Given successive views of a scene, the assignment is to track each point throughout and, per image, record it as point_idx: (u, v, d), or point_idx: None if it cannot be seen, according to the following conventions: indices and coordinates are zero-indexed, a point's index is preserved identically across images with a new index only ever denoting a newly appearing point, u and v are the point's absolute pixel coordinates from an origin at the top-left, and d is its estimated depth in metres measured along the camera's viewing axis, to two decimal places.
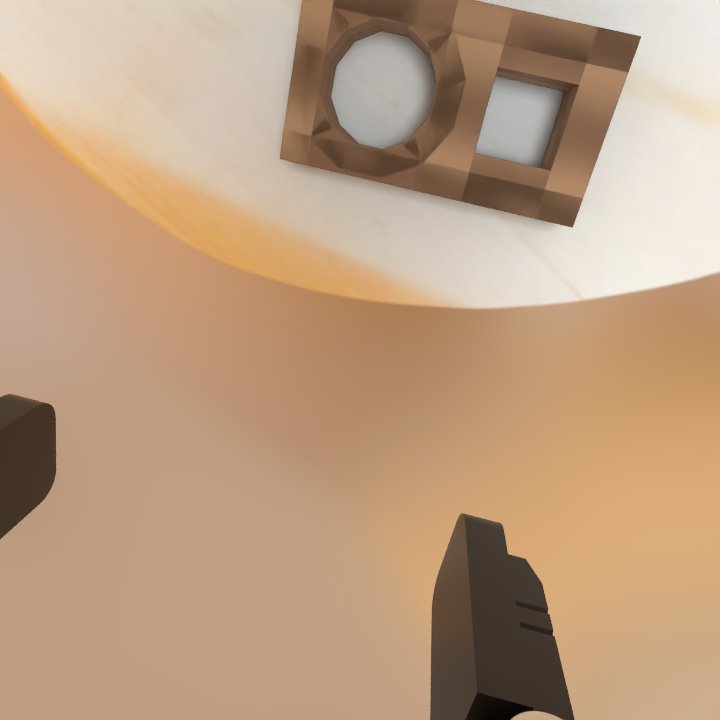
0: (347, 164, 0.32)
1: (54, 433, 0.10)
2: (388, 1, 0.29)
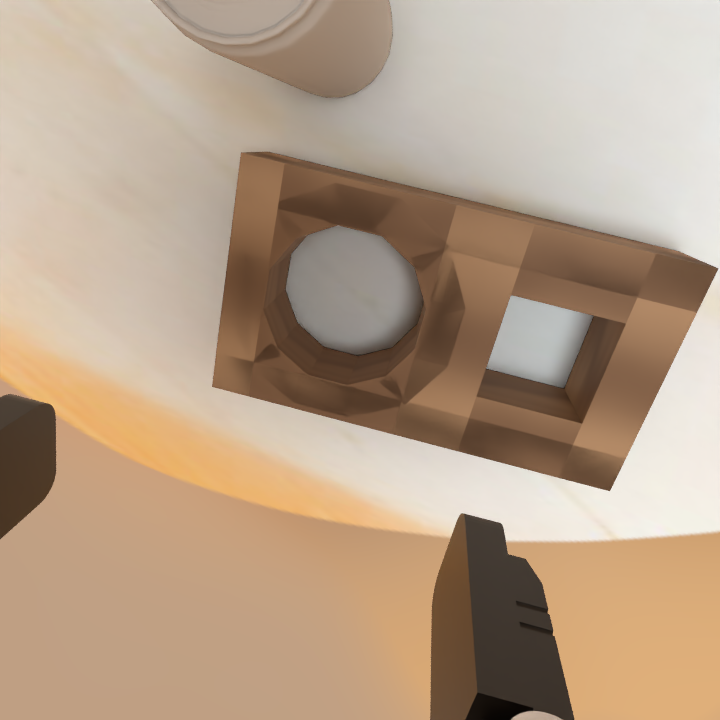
0: (303, 398, 0.24)
1: (54, 433, 0.10)
2: (355, 205, 0.20)
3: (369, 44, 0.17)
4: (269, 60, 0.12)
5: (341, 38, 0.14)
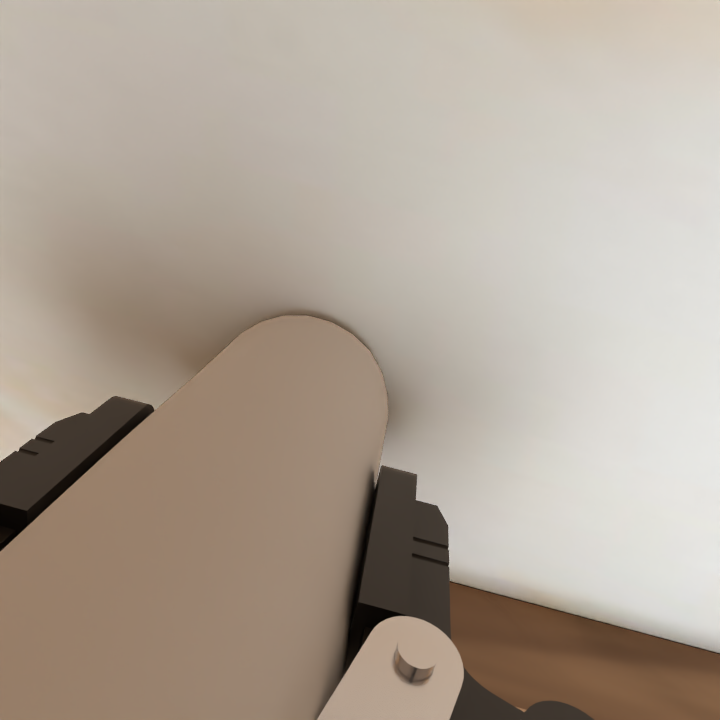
0: None
1: None
2: None
3: None
4: None
5: None
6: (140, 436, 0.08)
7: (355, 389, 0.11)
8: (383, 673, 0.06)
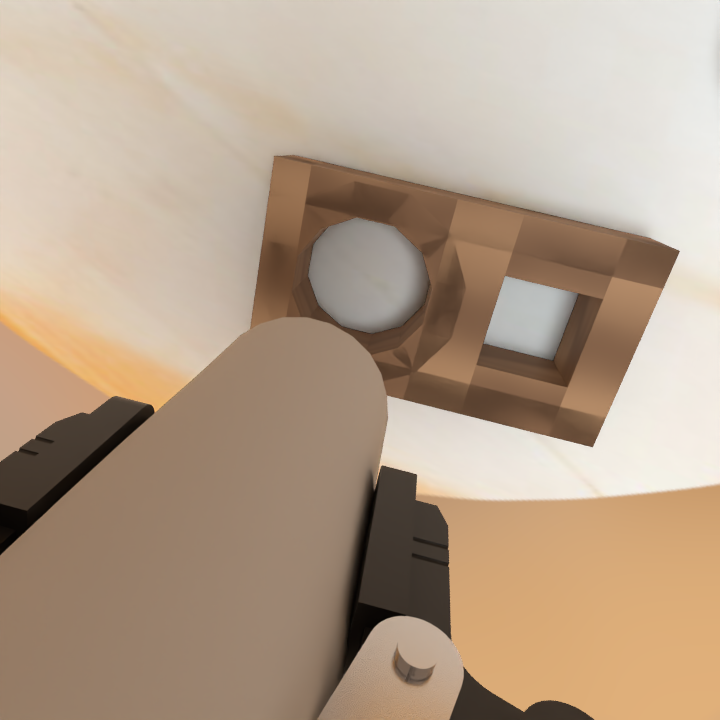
0: None
1: None
2: (372, 200, 0.24)
3: None
4: None
5: None
6: (141, 439, 0.08)
7: (354, 391, 0.11)
8: (383, 673, 0.06)
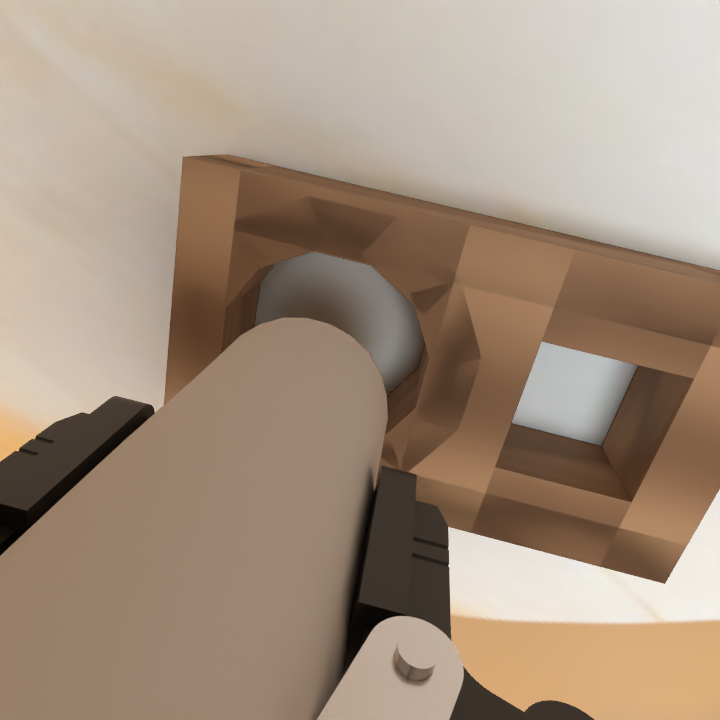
0: None
1: None
2: (336, 225, 0.15)
3: None
4: None
5: None
6: (140, 439, 0.08)
7: (354, 392, 0.11)
8: (383, 673, 0.06)
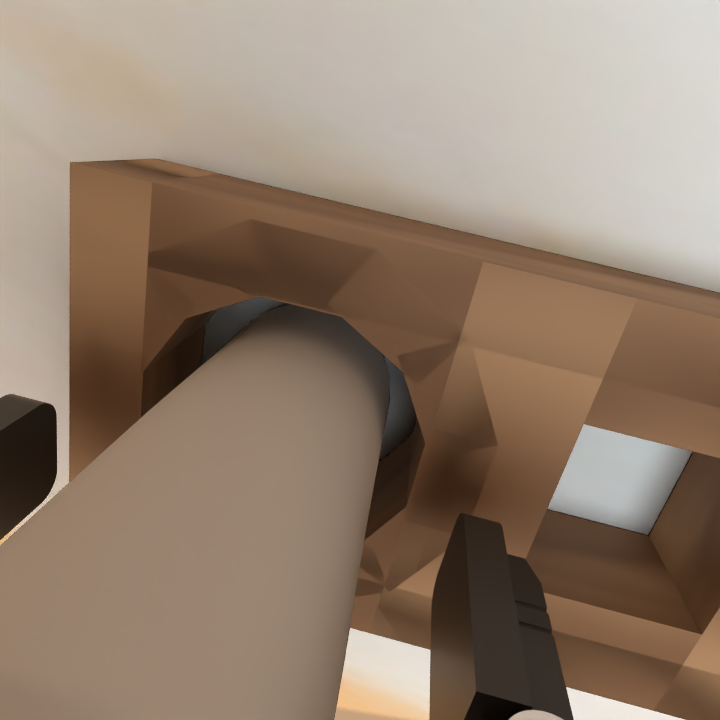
0: None
1: (55, 433, 0.10)
2: (290, 260, 0.11)
3: None
4: None
5: None
6: (168, 404, 0.09)
7: (360, 370, 0.12)
8: None
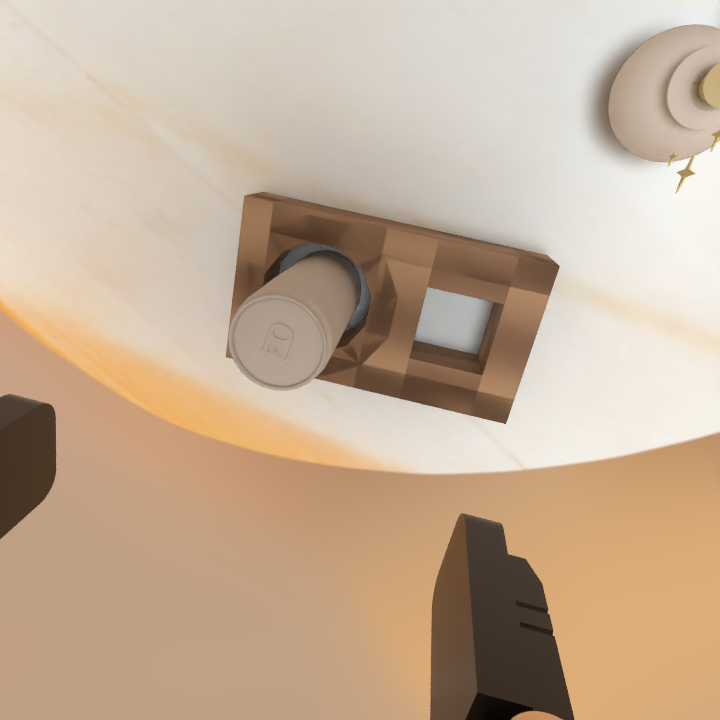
0: None
1: (54, 433, 0.10)
2: (321, 228, 0.31)
3: None
4: None
5: None
6: (286, 270, 0.29)
7: (346, 271, 0.32)
8: None
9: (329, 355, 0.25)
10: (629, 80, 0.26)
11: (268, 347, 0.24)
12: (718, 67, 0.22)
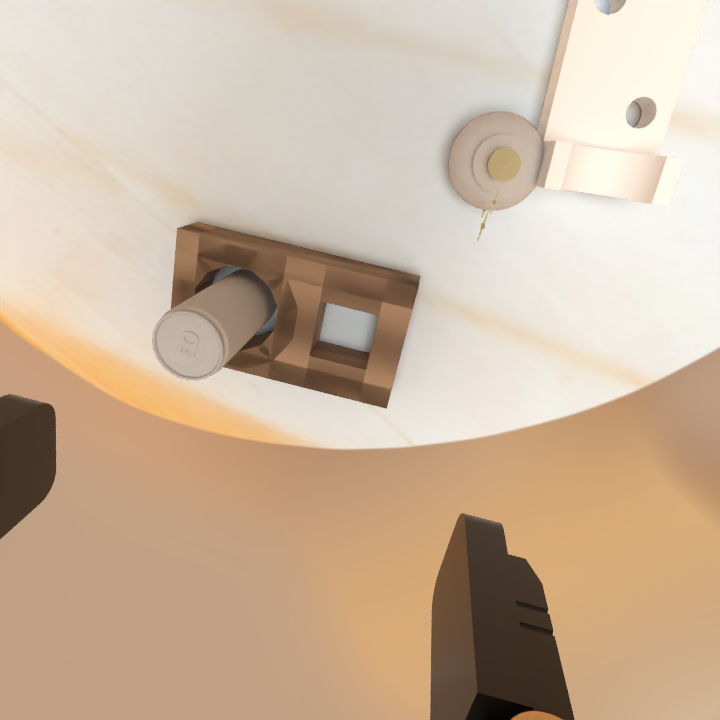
0: None
1: (55, 433, 0.10)
2: (237, 254, 0.39)
3: (254, 333, 0.40)
4: None
5: None
6: None
7: (259, 287, 0.41)
8: None
9: (227, 355, 0.34)
10: (455, 152, 0.34)
11: (181, 348, 0.33)
12: (496, 153, 0.31)
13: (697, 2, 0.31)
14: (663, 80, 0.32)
